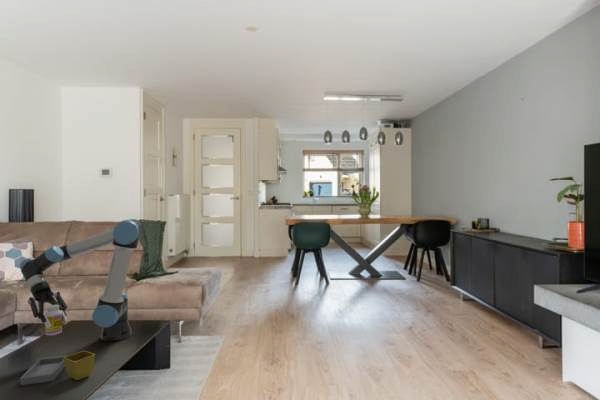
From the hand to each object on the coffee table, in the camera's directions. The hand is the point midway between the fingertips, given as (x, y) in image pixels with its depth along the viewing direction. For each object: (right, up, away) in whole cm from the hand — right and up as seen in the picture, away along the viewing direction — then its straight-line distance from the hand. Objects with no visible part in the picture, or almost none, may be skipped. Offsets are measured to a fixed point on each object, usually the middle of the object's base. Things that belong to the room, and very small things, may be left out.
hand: (57, 325), depth 181 cm
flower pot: (+20, -16, -18) cm, 31 cm away
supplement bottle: (-3, -5, +2) cm, 6 cm away
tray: (+3, -16, -13) cm, 21 cm away
